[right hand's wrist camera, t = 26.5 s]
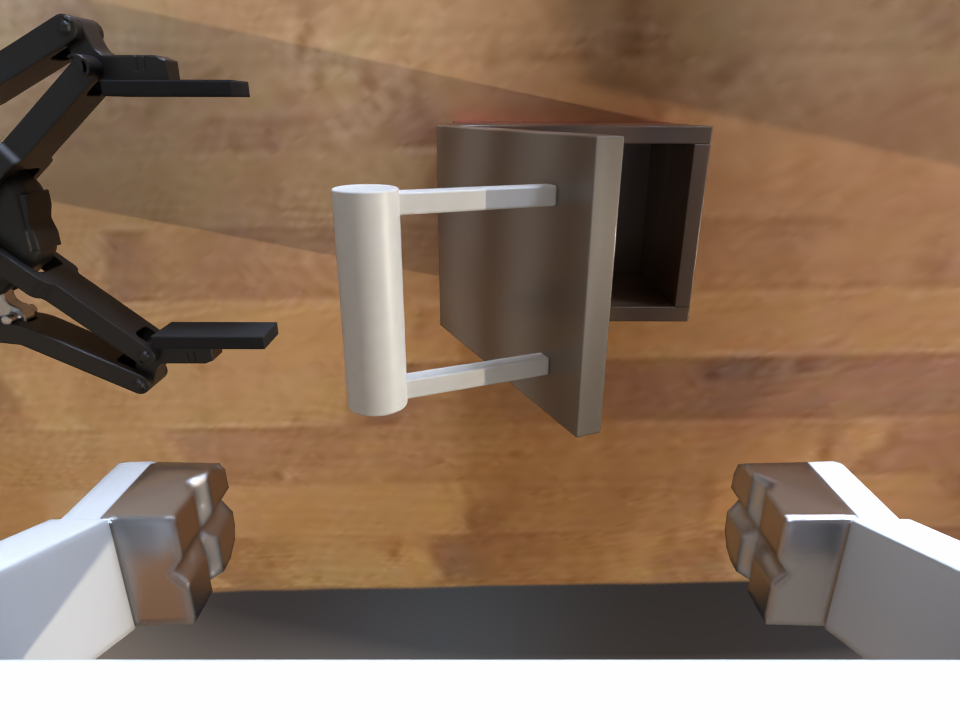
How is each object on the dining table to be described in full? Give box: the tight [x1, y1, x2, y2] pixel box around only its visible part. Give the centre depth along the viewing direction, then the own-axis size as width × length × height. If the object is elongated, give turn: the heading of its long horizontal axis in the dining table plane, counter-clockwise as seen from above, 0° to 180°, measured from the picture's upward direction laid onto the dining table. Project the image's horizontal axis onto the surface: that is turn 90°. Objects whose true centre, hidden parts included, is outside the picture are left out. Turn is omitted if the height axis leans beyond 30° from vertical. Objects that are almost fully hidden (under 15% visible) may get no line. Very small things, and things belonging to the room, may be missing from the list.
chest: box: [449, 122, 713, 321], centre depth 38 cm, size 13×10×9 cm
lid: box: [331, 125, 624, 437], centre depth 26 cm, size 14×10×9 cm
